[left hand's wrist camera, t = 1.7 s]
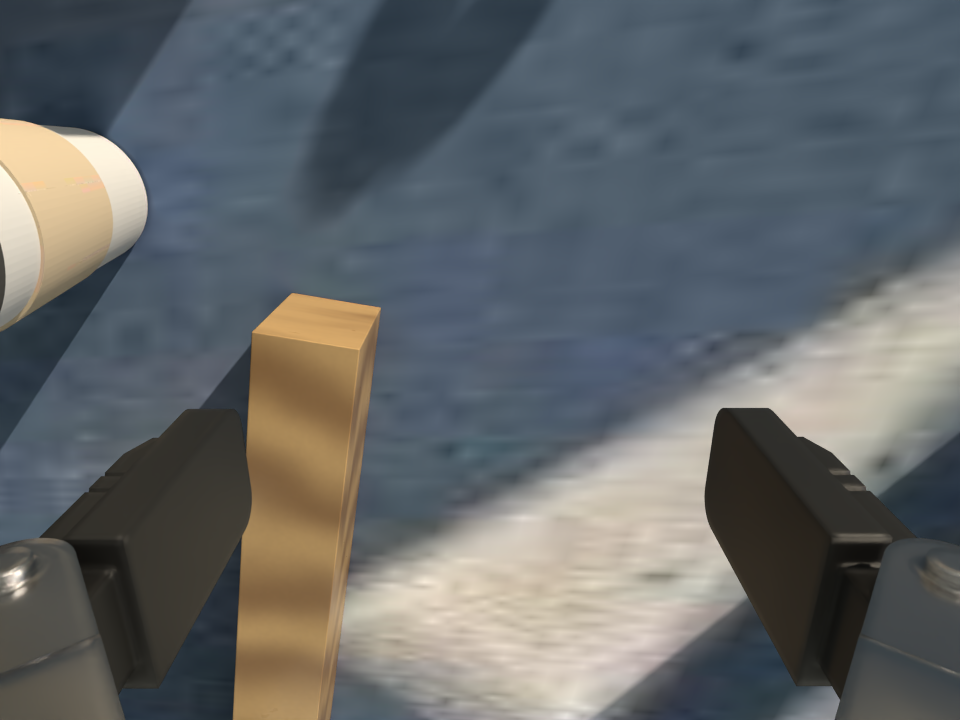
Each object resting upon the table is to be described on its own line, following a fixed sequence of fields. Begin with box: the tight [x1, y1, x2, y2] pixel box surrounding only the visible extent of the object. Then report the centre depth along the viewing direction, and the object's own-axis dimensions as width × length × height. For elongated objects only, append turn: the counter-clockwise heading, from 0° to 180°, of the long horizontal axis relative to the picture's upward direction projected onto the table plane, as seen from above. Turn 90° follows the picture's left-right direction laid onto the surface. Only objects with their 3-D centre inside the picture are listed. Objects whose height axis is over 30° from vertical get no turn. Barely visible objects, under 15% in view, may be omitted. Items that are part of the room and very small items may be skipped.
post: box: [233, 293, 381, 720], centre depth 42 cm, size 53×5×7 cm, turn 170°
